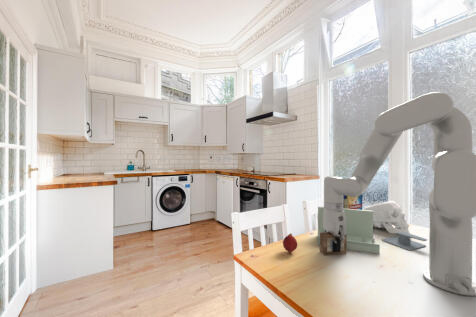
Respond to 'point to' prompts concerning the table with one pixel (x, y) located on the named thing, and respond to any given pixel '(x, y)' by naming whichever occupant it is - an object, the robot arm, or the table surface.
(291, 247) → the onion
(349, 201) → the beverage box
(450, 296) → the table surface
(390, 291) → the table surface
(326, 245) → the frame
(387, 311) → the table surface
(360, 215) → the ledge
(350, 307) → the table surface
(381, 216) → the skull planter
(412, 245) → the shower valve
